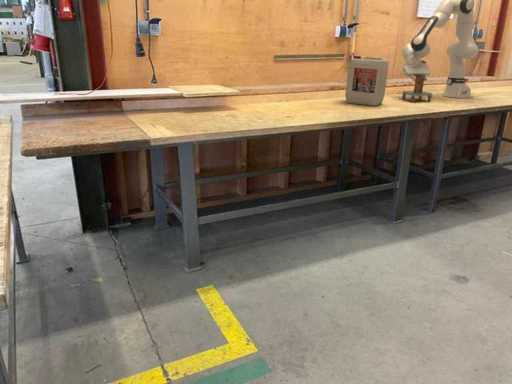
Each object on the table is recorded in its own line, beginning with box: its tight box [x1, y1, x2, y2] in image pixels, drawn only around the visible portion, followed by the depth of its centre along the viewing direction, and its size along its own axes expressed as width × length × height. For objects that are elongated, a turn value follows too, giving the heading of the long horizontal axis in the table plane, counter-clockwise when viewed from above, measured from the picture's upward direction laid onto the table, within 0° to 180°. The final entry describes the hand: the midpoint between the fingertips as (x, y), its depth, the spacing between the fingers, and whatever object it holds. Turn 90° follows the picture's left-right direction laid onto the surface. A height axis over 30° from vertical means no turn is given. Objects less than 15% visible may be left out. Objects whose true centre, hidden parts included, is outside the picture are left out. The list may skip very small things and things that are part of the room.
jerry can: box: [344, 55, 390, 107], centre depth 276 cm, size 24×19×30 cm
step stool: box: [401, 90, 434, 104], centre depth 295 cm, size 16×12×6 cm
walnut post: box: [413, 74, 425, 93], centre depth 292 cm, size 4×4×12 cm
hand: (420, 80), depth 291 cm, fingers open, 8 cm apart
